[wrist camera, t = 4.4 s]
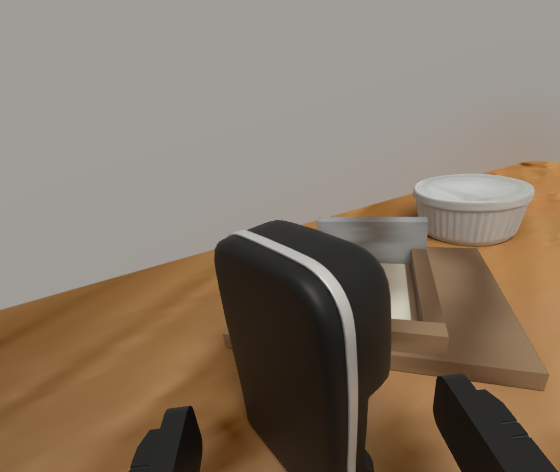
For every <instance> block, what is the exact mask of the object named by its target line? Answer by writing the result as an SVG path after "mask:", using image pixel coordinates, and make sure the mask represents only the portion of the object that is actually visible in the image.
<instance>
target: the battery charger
mask: <svg viewBox="0 0 560 472" xmlns="http://www.w3.org/2000/svg"><path fill="white" fill-rule="evenodd" d="M214 262H215V268H216V275H217V280H218V285H219V290H220V295H221V300H222V305H223V309H224V314H225V319H226V323H227V328H228V332H229V336H230V341H231V345H232V349H233V353H234V358H235V362H236V366H237V370H238V374H239V378H240V383H241V387H242V392H243V397H244V402H245V407H246V412H247V417H248V421H249V422H250V424H251V425H252V427H253V428H254V429H255V431H256V432H257V433H258V434H259V436H260V437H261V438H262V439H263V441H264V442H265V443H266V444H267V446H268V447H269V448H270V449H271V451H272V452H273V453H274V454H275V456H276V457H277V458H278V459H279V461H280V462H281V463H282V464H283V466H284V467H285V468H286V469H287V471H288V472H374V467H373V462H372V459H371V457H370V455H369V454H368V453H367V451H366V450H365V441H366V427H367V411H368V399H369V397H370V396H371V395H372V394H373V393H374V392H375V391H376V390H377V389H378V388H379V387H380V386H381V385H382V384H383V383H384V381H385V380H386V379H387V378H388V375H389V371H390V364H391V296H390V289H389V282H388V279H387V276H386V274H385V271H384V269H383V267H382V266H381V264H380V263H379V262H378V260H377V259H376V257H375V256H373V255H372V254H371V253H370V252H369V251H367V250H366V249H365V248H363V247H361V246H359V245H357V244H355V243H352V242H349V241H347V240H344V239H341V238H338V237H336V236H333V235H330V234H327V233H324V232H322V231H319V230H315V229H312V228H309V227H305V226H302V225H298V224H295V223H292V222H287V221H281V220H275V221H270V222H267V223H264V224H262V225H259V226H256V227H254V228H251V229H248V230H239V231H236V232H233V233H231V234H229V235H228V236H227V238H225V239H223V240H221V241H220V242H219V243H218V244H217V246H216V248H215V258H214Z"/></svg>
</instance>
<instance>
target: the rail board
mask: <svg viewBox="0 0 560 472" xmlns="http://www.w3.org/2000/svg"><path fill="white" fill-rule="evenodd" d="M317 230H319V231H322V232H324V233H327V234H330V235H333V236H336V237H338V238H341V239H344V240H347V241H349V242H352V243H355V244H357V245H359V246H361V247H363V248H365V249H366V250H367V251H369V252H370V253H371V254H372V255H373V256H375V257H376V259H377V260H378V262H379V263H380V264H381V266H382V267H383V269H384V271H385V274H386V276H387V279H388V282H389V289H390V296H391V364H390V370H396V371H403V372H410V373H418V374H425V375H432V376H443V375H451V374H459V373H462V374H464V375H465V376H466V377H467V378H468V379H469V380H470V381H476V382H483V383H490V384H498V385H505V386H512V387H520V388H527V389H534V390H542V391H544V389H545V386H546V383H547V379H548V376H549V373H548V372H547V370H546V368H545V366H544V365H543V363H542V361H541V359H540V358H539V356H538V354H537V352H536V351H535V349H534V347H533V345H532V344H531V342H530V340H529V338H528V337H527V335H526V333H525V331H524V330H523V328H522V326H521V324H520V323H519V321H518V319H517V317H516V316H515V314H514V312H513V310H512V309H511V307H510V305H509V303H508V302H507V300H506V298H505V296H504V295H503V293H502V291H501V289H500V288H499V286H498V284H497V282H496V281H495V279H494V277H493V275H492V274H491V272H490V270H489V268H488V267H487V265H486V263H485V261H484V260H483V258H482V256H481V254H480V253H479V251H478V249H477V248H440V247H426V246H427V234H428V219H427V217H319V218H318V220H317ZM223 336H224V340H225V345H226V347H228V348H232V345H231V341H230V336H229V332H228V328H227V329H226V330H225V332H224V333H223Z"/></svg>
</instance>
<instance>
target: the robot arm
mask: <svg viewBox="0 0 560 472" xmlns="http://www.w3.org/2000/svg"><path fill="white" fill-rule="evenodd" d="M433 414H434V418H435V422H436V424H437V427H438V429H439V431H440V433H441V435H442V437H443V438H444V440H445V442H446V444H447V446H448V448H449V450H450V451H451V453H452V455H453V457H454V459H455V461H456V462H457V464H458V466H459V468H460V470H461V472H558V471H557V470H556V468H555V467H554V466H553V465H552V463H551V462H550V461H549V460H548V458H547V457H546V456H545V455H544V453H543V452H542V451H541V450H540V448H539V447H538V446H537V445H536V443H535V442H534V441H533V440H532V438H529V436H528V433H527V432H526V431H525V430H524V428H523V427H522V426H521V425H520V423H517V421H516V418H515V417H514V416H513V415H512V413H511V412H510V411H509V410H508V408H507V407H506V406H505V405H504V403H503V402H501V401H500V400H499V399H497V398H496V397H495V396H493V395H492V394H491V393H489V392H488V391H487V390H485V389H483V390H476V388H475V387H474V386H473V384H472V383H471V382H470V380H469V379H468V378H467V377H466V376H465V375H464V374H462V373H459V374H451V375H443V376H438V377H437V379H436V387H435V395H434V404H433ZM201 460H202V437H201V433H200V430H199V427H198V423H197V420H196V417H195V413H194V410H193V408H192V406H186V407H178V408H170V409H167V410H166V412H165V414H164V417H163V421H162V424H161V427H160V429H154V430H150V431H149V432H148V433H147V435H146V436H145V437H144V439H143V440H142V442H141V443H140V444H139V446H138V447H137V450H136V453H135V455H134V458H133V461H132V464H131V469H130V471H129V472H200V466H201Z"/></svg>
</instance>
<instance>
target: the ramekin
mask: <svg viewBox="0 0 560 472" xmlns="http://www.w3.org/2000/svg"><path fill="white" fill-rule="evenodd" d="M534 192H535V189H534V187H533V186H532V185H531V184H529V183H527V182H525V181H522V180H518V179H514V178H509V177H504V176H497V175H488V174H454V175H445V176H438V177H433V178H429V179H425V180H423V181H421V182H419V183H417V184H416V185H415V186H414V190H413V196H414V198H415V199H416V206H417V214H418V217H427V219H428V234H427V235H429V236H430V237H432V238H434V239H436V240H439V241H443V242H446V243H451V244H456V245H463V246H488V245H494V244H498V243H502V242H504V241H506V240H508V239H509V238H511V237H512V236H514V235H515V234H516V232H517V231H518V229H519V226H520V224H521V222H522V219H523V217H524V214H525V212H526V209H527V207H528V204H529V203H530V202H531V201H532V199H533V197H534Z"/></svg>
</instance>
